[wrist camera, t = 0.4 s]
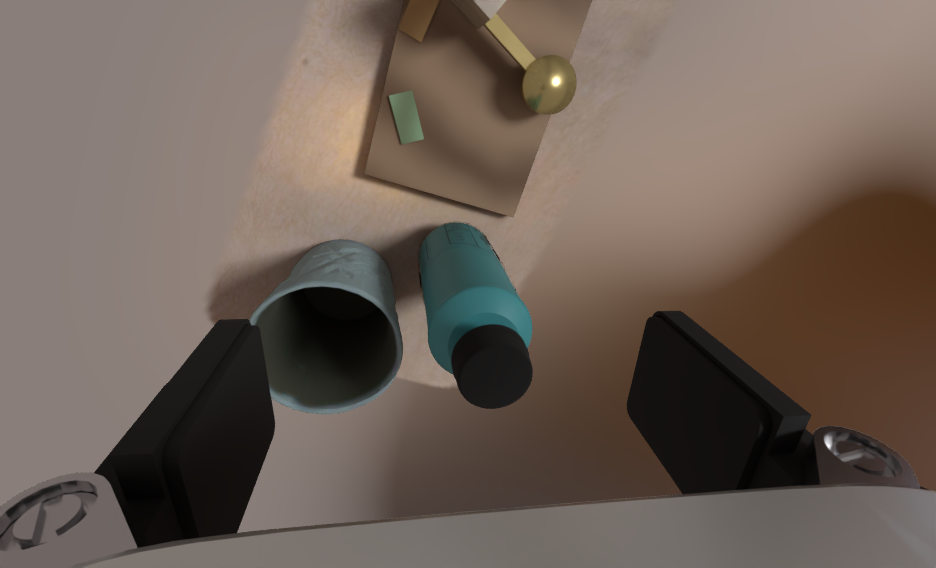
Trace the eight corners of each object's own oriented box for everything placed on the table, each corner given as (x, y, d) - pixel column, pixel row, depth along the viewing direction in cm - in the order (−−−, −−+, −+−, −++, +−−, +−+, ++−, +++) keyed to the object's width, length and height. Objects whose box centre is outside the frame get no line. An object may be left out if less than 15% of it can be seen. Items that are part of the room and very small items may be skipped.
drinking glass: (273, 310, 40) (224, 393, 29) (305, 209, 37) (264, 259, 26) (380, 343, 43) (372, 429, 32) (419, 251, 39) (425, 313, 29)
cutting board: (445, -180, 28) (448, -199, 26) (620, -91, 31) (634, -102, 29) (365, 171, 36) (363, 176, 34) (510, 214, 39) (516, 220, 37)
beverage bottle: (402, 257, 39) (401, 400, 21) (447, 198, 38) (487, 298, 20) (459, 295, 42) (501, 453, 24) (503, 241, 40) (586, 366, 22)
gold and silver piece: (578, 84, 34) (605, 83, 29) (541, 124, 35) (562, 129, 30) (439, -80, 29) (446, -112, 24) (400, -28, 30) (400, -50, 25)
